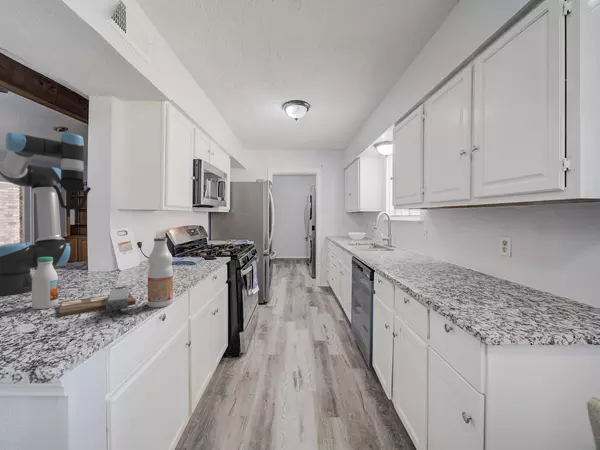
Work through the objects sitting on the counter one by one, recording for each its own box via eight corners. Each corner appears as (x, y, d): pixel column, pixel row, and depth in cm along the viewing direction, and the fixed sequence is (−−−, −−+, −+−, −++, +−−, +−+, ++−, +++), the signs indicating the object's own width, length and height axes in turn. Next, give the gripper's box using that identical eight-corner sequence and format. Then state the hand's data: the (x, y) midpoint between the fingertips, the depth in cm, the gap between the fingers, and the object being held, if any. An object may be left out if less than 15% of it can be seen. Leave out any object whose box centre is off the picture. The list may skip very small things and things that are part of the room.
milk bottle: (42, 310, 104) (41, 259, 104) (26, 309, 106) (26, 258, 105) (63, 304, 112) (63, 256, 111) (48, 303, 113) (48, 255, 113)
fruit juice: (157, 309, 107) (157, 239, 106) (142, 305, 111) (142, 238, 110) (177, 303, 115) (178, 237, 115) (163, 299, 119) (163, 237, 119)
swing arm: (112, 294, 119) (112, 287, 119) (129, 292, 123) (129, 285, 123) (106, 310, 98) (106, 302, 98) (127, 308, 102) (127, 299, 102)
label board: (60, 305, 110) (60, 301, 110) (129, 295, 125) (129, 291, 125) (59, 316, 98) (59, 311, 98) (135, 304, 113) (135, 299, 113)
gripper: (91, 173, 124) (90, 224, 125) (52, 169, 116) (52, 224, 116) (91, 171, 118) (91, 224, 119) (51, 167, 110) (51, 224, 111)
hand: (72, 224), depth 118 cm, fingers closed
